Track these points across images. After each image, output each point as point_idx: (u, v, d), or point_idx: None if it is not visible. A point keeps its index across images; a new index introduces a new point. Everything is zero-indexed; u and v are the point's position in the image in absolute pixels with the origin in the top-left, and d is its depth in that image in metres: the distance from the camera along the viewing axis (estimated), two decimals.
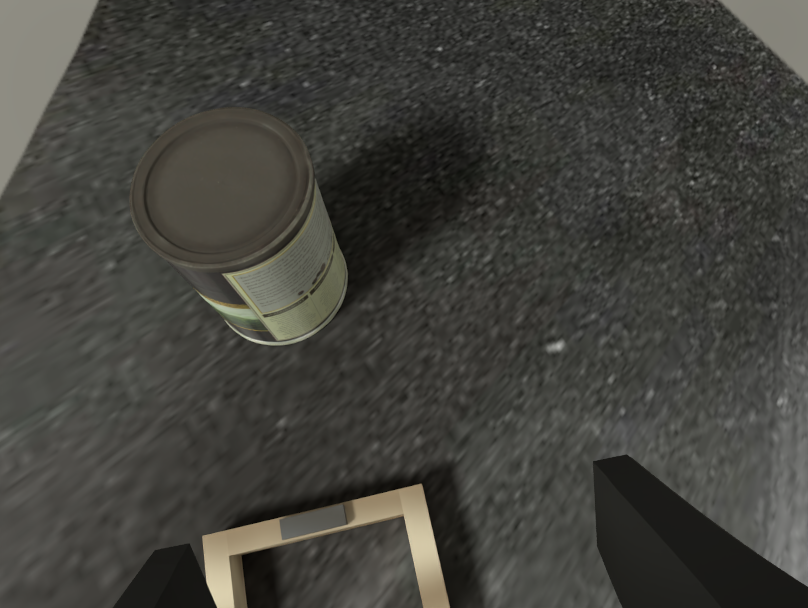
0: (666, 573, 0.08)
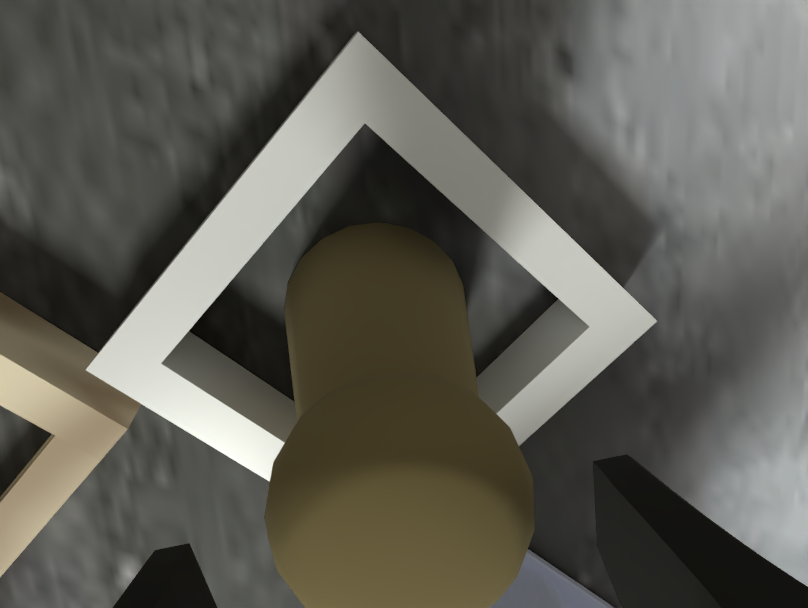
0: (666, 573, 0.08)
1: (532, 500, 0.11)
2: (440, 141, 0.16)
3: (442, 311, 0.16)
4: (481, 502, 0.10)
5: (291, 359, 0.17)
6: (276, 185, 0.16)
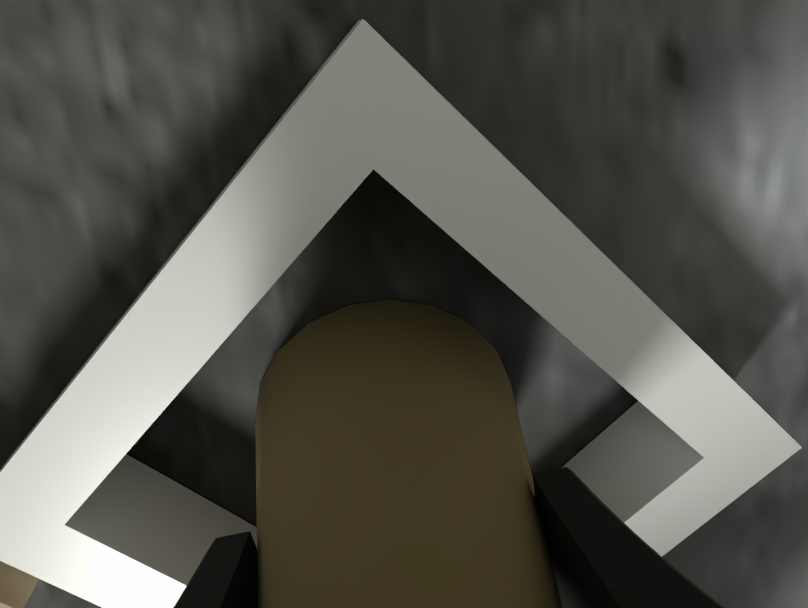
0: (590, 588, 0.08)
1: None
2: (495, 196, 0.10)
3: (500, 472, 0.10)
4: None
5: (258, 534, 0.11)
6: (232, 268, 0.10)
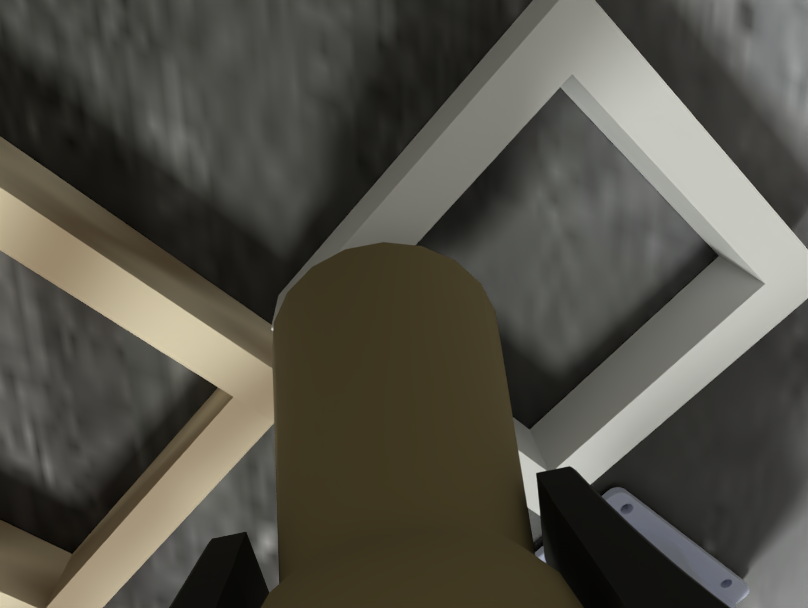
0: (595, 588, 0.08)
1: None
2: (644, 92, 0.16)
3: (472, 380, 0.12)
4: None
5: (275, 441, 0.13)
6: (478, 139, 0.16)
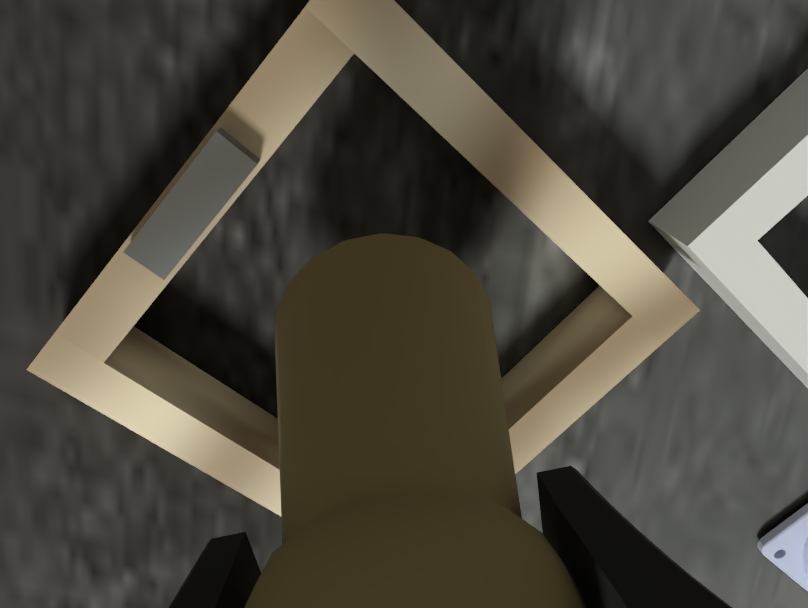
0: (596, 587, 0.08)
1: None
2: None
3: (464, 361, 0.12)
4: None
5: (278, 421, 0.13)
6: None
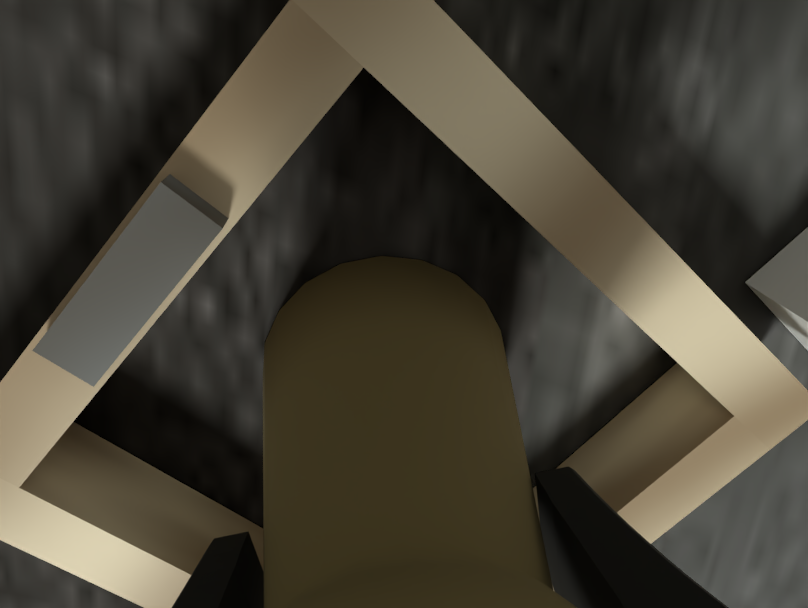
0: (594, 588, 0.08)
1: None
2: None
3: (478, 397, 0.11)
4: None
5: (263, 469, 0.12)
6: None
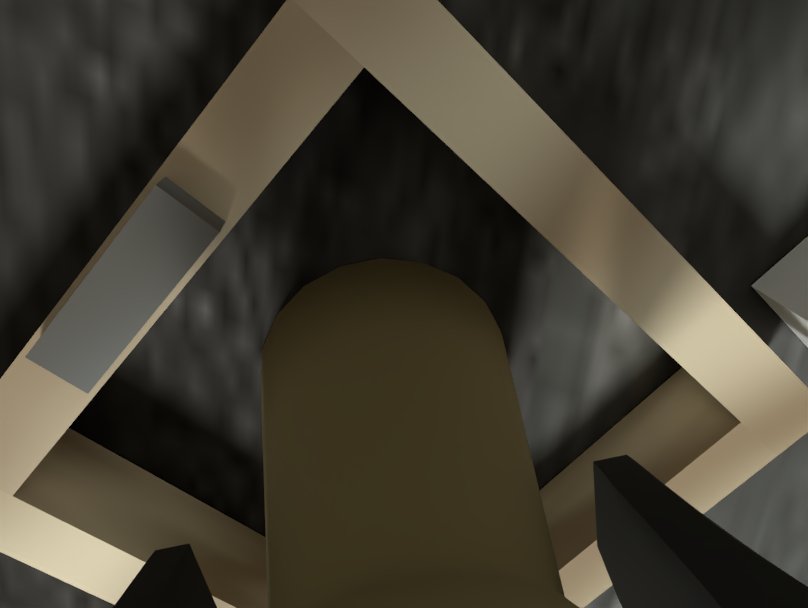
0: (666, 573, 0.08)
1: None
2: None
3: (483, 401, 0.10)
4: None
5: (264, 476, 0.11)
6: None
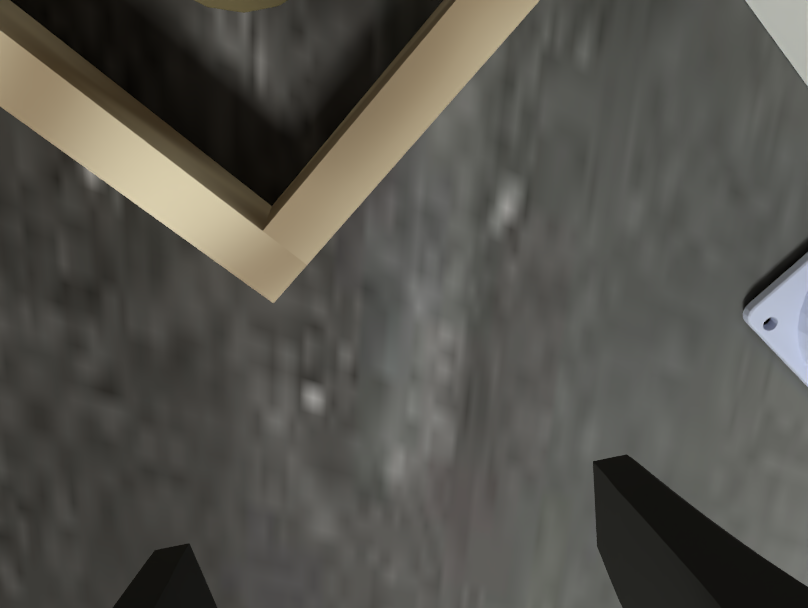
0: (666, 573, 0.08)
1: None
2: None
3: None
4: None
5: None
6: None
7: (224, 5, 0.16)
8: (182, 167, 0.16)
